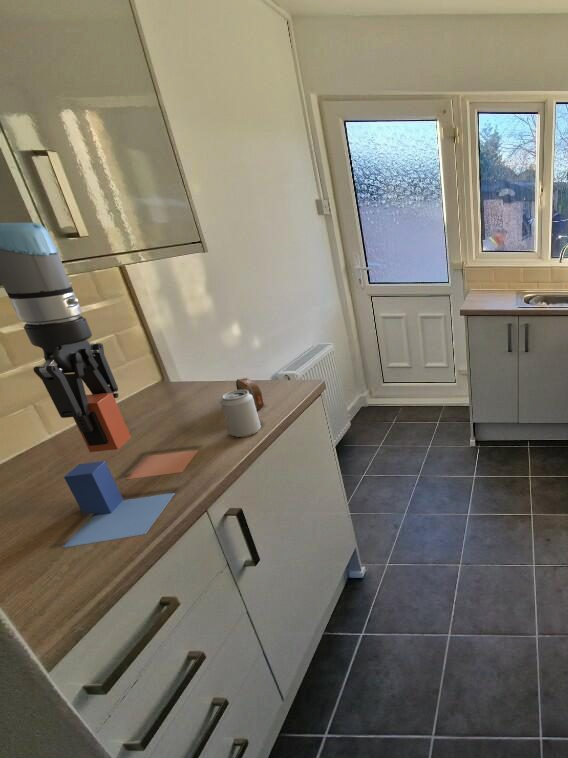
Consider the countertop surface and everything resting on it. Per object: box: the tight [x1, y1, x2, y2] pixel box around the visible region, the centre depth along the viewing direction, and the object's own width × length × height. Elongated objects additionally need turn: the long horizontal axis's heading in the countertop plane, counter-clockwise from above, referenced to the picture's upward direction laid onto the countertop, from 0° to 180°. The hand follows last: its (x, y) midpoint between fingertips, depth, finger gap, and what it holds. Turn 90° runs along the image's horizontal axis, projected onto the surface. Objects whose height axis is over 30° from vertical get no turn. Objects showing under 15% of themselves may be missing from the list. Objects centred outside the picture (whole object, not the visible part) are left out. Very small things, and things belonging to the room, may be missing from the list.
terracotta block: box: [73, 393, 132, 453], centre depth 79 cm, size 4×4×10 cm
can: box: [220, 389, 262, 438], centre depth 114 cm, size 8×8×12 cm
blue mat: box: [61, 492, 176, 549], centre depth 84 cm, size 14×13×1 cm
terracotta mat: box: [126, 449, 200, 481], centre depth 102 cm, size 12×10×1 cm
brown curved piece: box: [235, 377, 265, 411], centre depth 130 cm, size 15×3×8 cm, turn 49°
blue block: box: [63, 460, 124, 516], centre depth 85 cm, size 4×4×10 cm
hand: (107, 436), depth 80 cm, fingers closed on terracotta block, 4 cm apart
